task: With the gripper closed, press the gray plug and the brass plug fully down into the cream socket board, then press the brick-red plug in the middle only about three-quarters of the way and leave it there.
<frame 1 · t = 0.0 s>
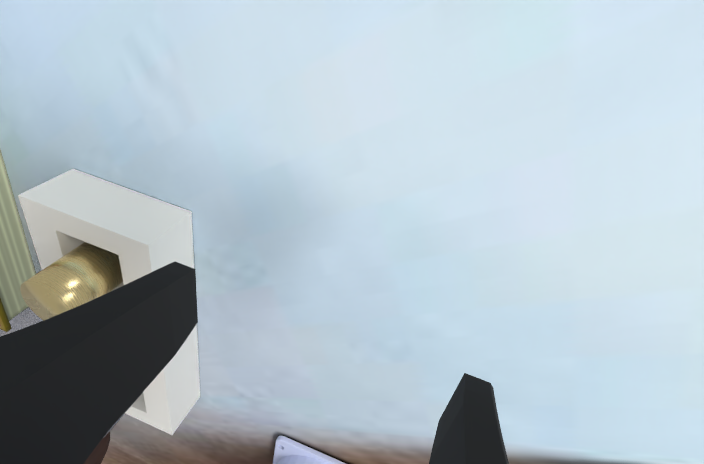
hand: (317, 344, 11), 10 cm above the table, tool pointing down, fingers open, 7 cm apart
gray plug: (108, 398, 30), point 5 cm above the table, slide at 0.0 cm
brass plug: (78, 281, 23), point 5 cm above the table, slide at 0.0 cm
socket board: (146, 299, 30), on the table
compass: (93, 412, 44), on the table
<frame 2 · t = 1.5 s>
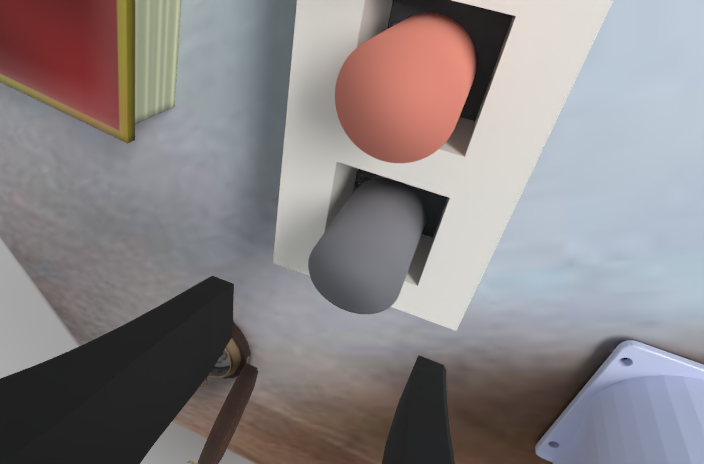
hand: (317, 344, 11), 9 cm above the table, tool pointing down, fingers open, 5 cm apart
gray plug: (371, 241, 15), point 4 cm above the table, slide at 0.0 cm
socket board: (438, 51, 15), on the table
compass: (220, 347, 30), on the table
red plug: (412, 82, 12), point 5 cm above the table, slide at 0.0 cm
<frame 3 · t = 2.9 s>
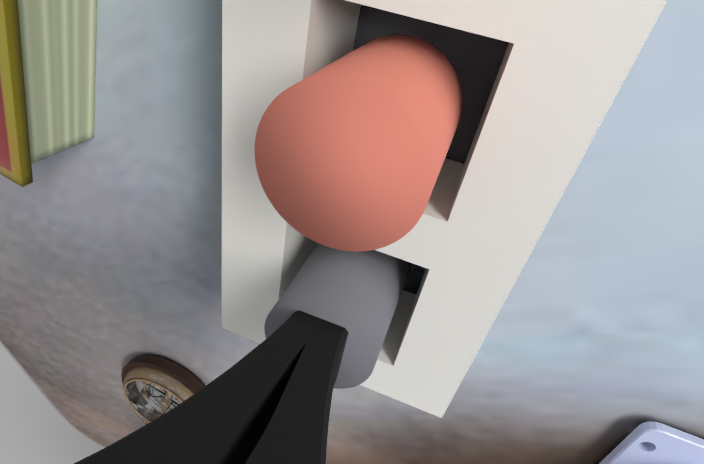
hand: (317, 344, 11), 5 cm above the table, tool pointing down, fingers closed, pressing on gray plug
gray plug: (344, 297, 13), point 3 cm above the table, slide at 1.0 cm, touching gripper
socket board: (417, 79, 12), on the table
compass: (185, 399, 27), on the table
red plug: (372, 132, 9), point 4 cm above the table, slide at 0.0 cm
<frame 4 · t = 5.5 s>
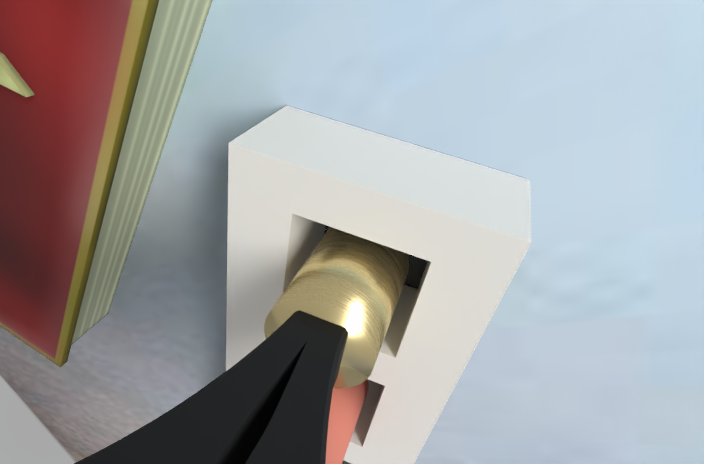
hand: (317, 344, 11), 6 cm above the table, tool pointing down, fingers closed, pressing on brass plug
gray plug: (317, 440, 20), point 2 cm above the table, slide at 2.4 cm
brass plug: (343, 297, 13), point 4 cm above the table, slide at 0.7 cm, touching gripper
socket board: (352, 331, 19), on the table
hardcover book: (50, 107, 19), on the table
red plug: (311, 420, 15), point 4 cm above the table, slide at 0.0 cm
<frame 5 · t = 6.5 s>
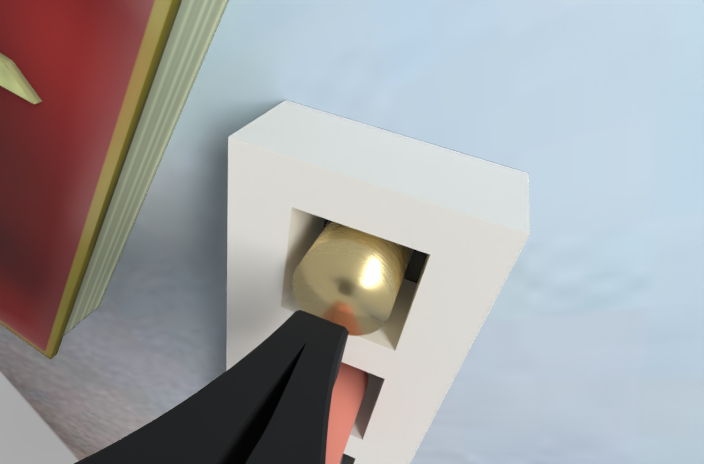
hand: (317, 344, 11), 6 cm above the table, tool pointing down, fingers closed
gray plug: (317, 434, 20), point 2 cm above the table, slide at 2.4 cm
brass plug: (360, 257, 14), point 2 cm above the table, slide at 2.4 cm
socket board: (351, 325, 19), on the table
hardcover book: (49, 104, 19), on the table
red plug: (311, 413, 15), point 4 cm above the table, slide at 0.0 cm
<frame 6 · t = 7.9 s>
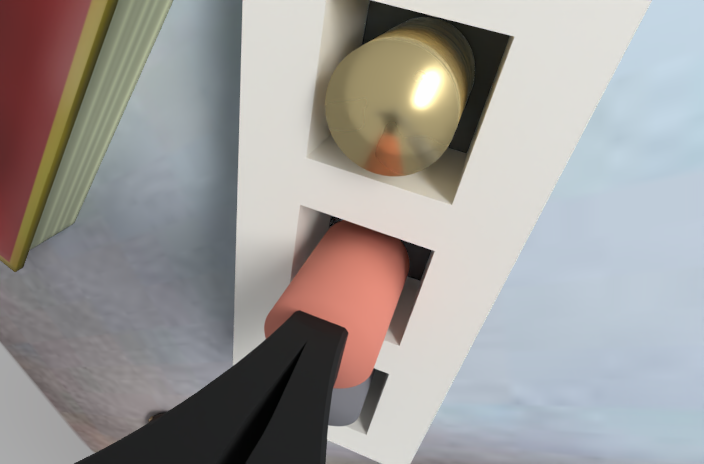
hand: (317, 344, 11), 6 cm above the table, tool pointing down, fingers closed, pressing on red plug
gray plug: (339, 358, 18), point 2 cm above the table, slide at 2.4 cm
brass plug: (407, 90, 11), point 2 cm above the table, slide at 2.4 cm
socket board: (382, 222, 16), on the table
red plug: (343, 297, 13), point 4 cm above the table, slide at 0.2 cm, touching gripper
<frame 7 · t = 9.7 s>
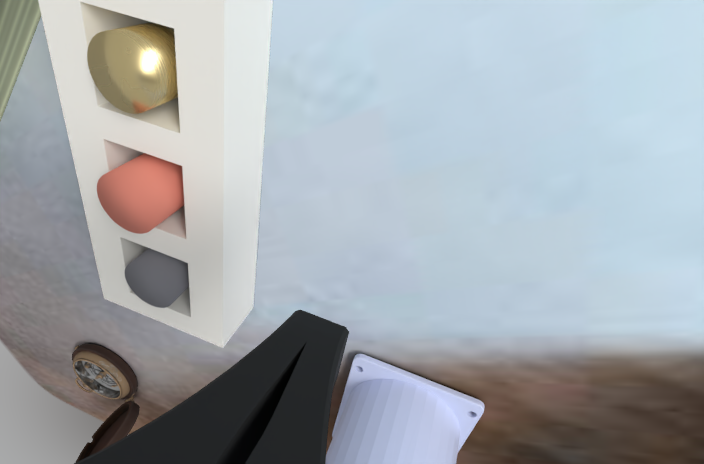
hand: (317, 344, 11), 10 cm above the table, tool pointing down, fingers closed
gray plug: (173, 263, 24), point 2 cm above the table, slide at 2.4 cm
brass plug: (156, 63, 18), point 2 cm above the table, slide at 2.4 cm
socket board: (192, 161, 23), on the table
compass: (113, 373, 39), on the table
red plug: (156, 184, 21), point 3 cm above the table, slide at 1.7 cm
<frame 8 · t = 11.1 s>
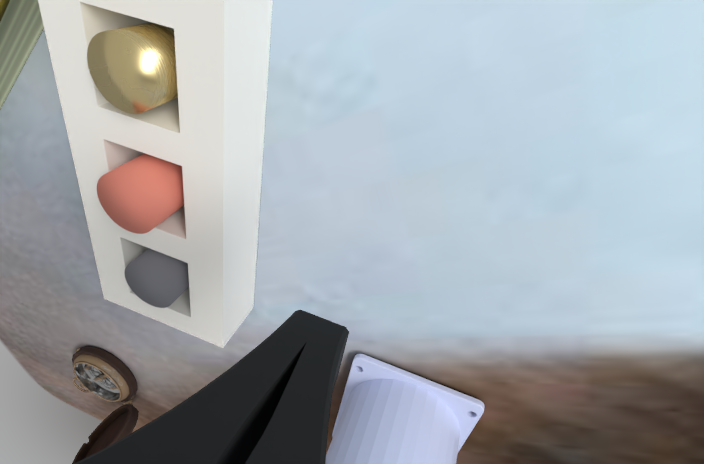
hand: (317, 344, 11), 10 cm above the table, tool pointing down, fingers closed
gray plug: (173, 263, 24), point 2 cm above the table, slide at 2.4 cm
brass plug: (156, 63, 18), point 2 cm above the table, slide at 2.4 cm
socket board: (192, 162, 23), on the table
compass: (112, 375, 39), on the table
red plug: (156, 184, 21), point 3 cm above the table, slide at 1.7 cm
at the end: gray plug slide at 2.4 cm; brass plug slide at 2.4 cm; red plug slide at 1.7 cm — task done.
